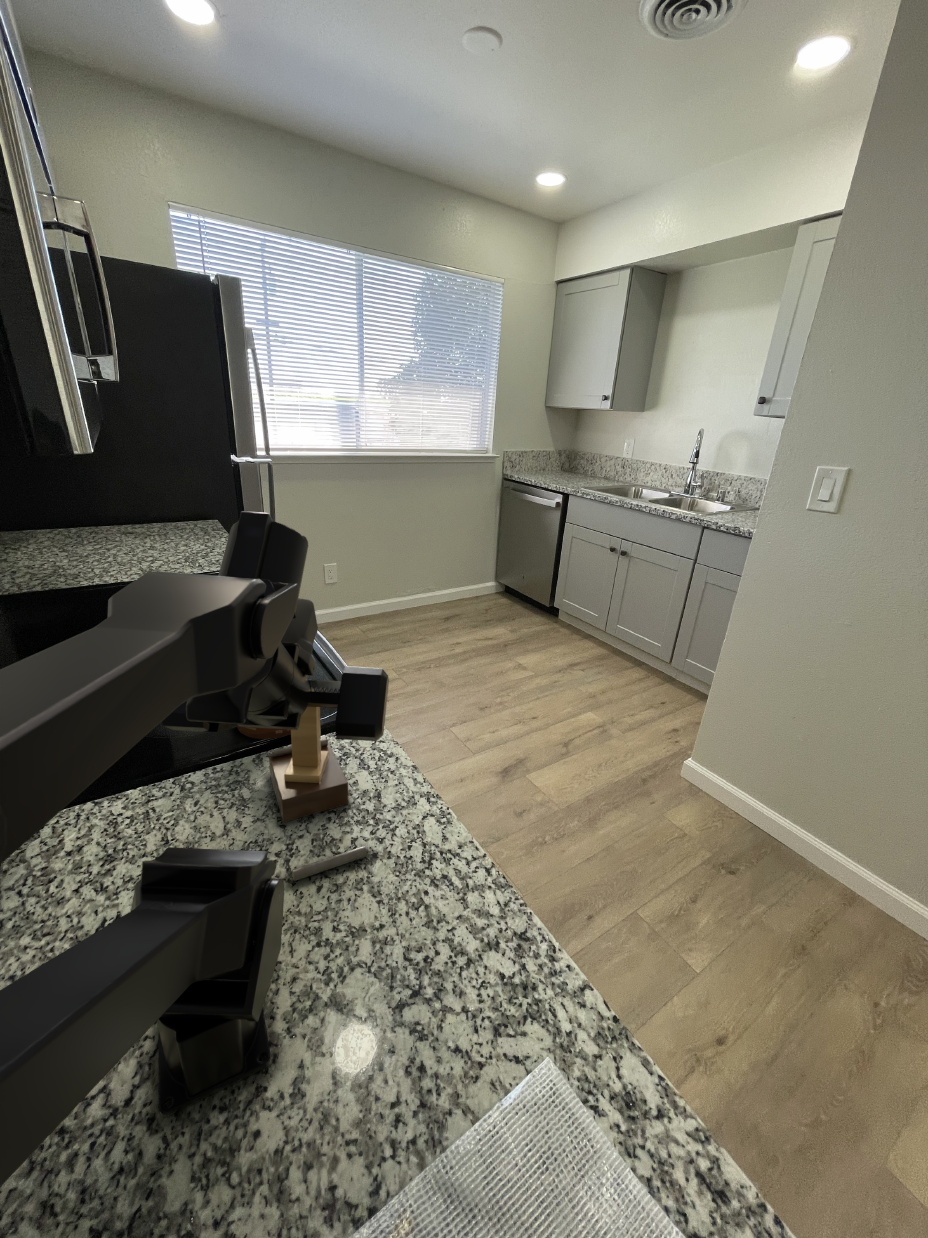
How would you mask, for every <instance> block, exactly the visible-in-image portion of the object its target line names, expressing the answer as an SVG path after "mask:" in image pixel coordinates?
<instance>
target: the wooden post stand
mask: <svg viewBox="0 0 928 1238" xmlns="http://www.w3.org/2000/svg"><path fill="white" fill-rule="evenodd" d="M312 691H313V692H315V691H314V688H313V690H312ZM321 731H322V730H321V707H308V706H307V708H306V710H305V712H304V713H303V714H302V715H301V718H300V724H299V730H293V729H291V734H290V739H291V740H290V741H291V746H292V758H291V760H290V763H289V765H288V767H287V769H286V771H285V774H284V780H285V781H287V782H308V783H320V781H321V778H322V775H323V772H324V769H325V766H326V763H327V761H328V751H321V740H322V737H321V735H322V734H321V733H322V732H321Z"/></svg>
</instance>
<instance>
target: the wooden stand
mask: <svg viewBox="0 0 928 1238" xmlns="http://www.w3.org/2000/svg"><path fill="white" fill-rule="evenodd" d="M321 751H328V761H327V763H326V766H325V769H324V772H323V775H322V778H321V781H320V783H308V782H287V781H285V780H284V774H285V771H286V769H287V767H288V765H289V763H290V760H291V758H292V745H290V746H286V747H281V748H277V749H272V750H271V754H270V755H268V760H269V761H268V763H269V776H270V781H271V783H272V787H273V791H274V795H275V798H276V801H277V805H278V808H279V812H280V816H281V818H282V823H286V822H289V821H293V820H296V819H300V818H304V817H307V816H311V815H313V814H317V813H322V812H324V811H328V810H331V809H336V808H339V807H342V806H345V805H348V804H349V782H348V780H347V778H346V776H345V774H344V771H343V769H342V767H341V765H340V763H339V761H338V758H337V757H336V754H335V752H334V750H333V748H332V746H331V744H330V742H329V741H328V738H323V739H322V738H321ZM367 856H368V853H367V848H366V846H365V845H363V846H360V847H356V848H354V849H350V850H348V851H345V852H342V853H338V854H335V855H332V856H330V857H326V858H323V859H320V860H317V861H314V862H312V863H309V864H306V865H305V864H304V865H302V866H299V867H297V868H293V869H292V870H291V876H292V880H293V882H296V881H299V880H302V879H304V878H308V877H310V876H313V875H316V874H319V873H323V872H326V871H329V870H331V869H334V868H337V867H339V866H343V865H345V864H346V865H347V864H349V863H351V862H354V861H357V860H360V859H363V858H366V857H367Z"/></svg>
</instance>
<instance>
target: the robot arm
mask: <svg viewBox="0 0 928 1238" xmlns="http://www.w3.org/2000/svg"><path fill="white" fill-rule="evenodd" d="M239 514H240V515H239V519H238V521H236V522H235V523H233V524H232V525H231V527H230V530H229V533H228V537H227V541H226V544H225V549H224V552H223V557H222V561H221V563H220V566H219V572H218V575H211V574H210V575H209V574H199V573H197V574H196V573H186V572H185V573H182V572H170V571H169V572H168V571H159V570H158V571H148V572H146V573H144V574H142V575H141V576H139V577H138V578H137V579H135V580H133V581H132V582H130V583H129V584H127V585H126V586H124V587H123V588H121V589H120V590H118V591H116V593H114V594H113V595H111V597H110V598H108V600H107V601H108V602H107V618H105V619H104V620H102V621H101V622H99V623H98V624H97V625H95V626H94V627H92V628H90V629H87V630H85V631H82V632H80V633H79V634H76V635H74V636H72V637H70V638H67V639H65V640H63V641H61V642H59V643H56V644H54V645H52V646H50V647H47V648H45V649H43V650H41V651H39V652H36V653H34V654H32V655H30V656H27V657H25V658H23V659H20V660H18V661H16V662H13V663H12V664H9V665H7V666H5V667H2V668H0V868H1V867H2V865H3V863H4V862H5V861H6V860H7V859H8V858H9V857H11V856H12V855H13V854H14V853H15V852H17V851H18V850H19V849H20V848H21V847H22V846H23V845H24V844H25V843H26V842H28V841H29V840H30V839H31V838H33V836H34V835H36V834H37V833H38V832H39V831H40V830H41V829H43V828H44V826H46V825H47V824H48V823H49V822H50V821H52V820H53V819H54V818H55V817H56V816H57V815H58V814H59V813H60V812H61V811H63V809H65V808H66V807H67V806H68V805H69V804H70V803H72V802H73V801H74V800H75V799H76V798H77V797H78V796H79V795H81V794H82V793H83V792H84V791H85V790H86V789H88V788H89V787H90V786H91V785H92V784H93V783H94V782H95V781H97V779H99V778H100V777H101V776H102V775H103V774H104V773H105V772H107V771H108V770H109V769H110V768H111V767H112V766H114V765H115V763H117V762H118V761H119V760H120V759H122V757H124V755H126V754H127V753H128V752H130V751H131V750H132V748H134V747H135V746H136V745H137V744H138V743H140V741H141V740H142V739H144V738H145V737H146V736H147V735H149V733H151V732H152V731H153V730H154V729H155V728H156V727H158V725H160V724H161V726H162V727H164V728H166V729H169V730H172V731H185V732H202V733H221V732H225V731H227V730H228V731H229V730H230V729H235V728H237V727H238V726H240V727H257V728H275V729H293V730H299V724H300V718H301V715H302V714H303V713H304V712H305V710H306V708H307V706H308V707H320V708H328V709H336V715H335V720H334V721H335V722H334V730H335V731H334V734H335V735H334V736H335V739H336V740H343V741H344V740H347V741H363V742H365V741H366V742H377V741H379V740H380V739H381V738H382V737H384V734H385V724H386V715H387V707H388V705H387V703H388V694H389V687H390V686H389V684H390V678H389V674H388V673H387V672H386V670H384V668H383V667H382V668H381V667H366V666H352V665H349V666H348V665H345V666H344V668H343V670H342V673H341V680H324V679H308V676H314V675H315V668H316V660H315V659H314V657H313V651H314V650H313V649H314V642H315V639H316V635H317V633H318V631H319V626H318V621H317V620H318V619H317V616H316V615H317V614H316V609H315V605H314V604H315V603H314V602H313V601H312V600H311V599H309V598H303V597H300V591H301V586H302V581H303V577H304V576H303V575H304V570H305V565H306V561H307V555H308V549H309V540H308V538H307V537H306V536H305V535H302V534H301V533H300V532H299V531H297V530H296V529H294V528H292V527H290V526H288V525H286V524H283V523H281V522H277V521H274V520H273V518H272V516H271V514H270V513H269V512H260V511H259V512H258V511H247V510H242V511H240V513H239ZM313 688H314V692H313V691H312V690H313ZM326 691H327V692H326ZM268 856H269V851H265V850H264V851H262V850H243V849H242V850H241V849H239V850H238V849H219V848H218V849H217V848H197V847H196V848H195V847H192V848H191V847H174V846H173V847H172V846H167V848H166V849H165V850H164V851H163V852H162V853H161V854H159V856H157V857H156V858H155V859H151V860H150V859H149V860H143V861H141V862H142V863H141V870H140V871H141V873H140V879H139V880H138V881H136V883H135V886H134V891H133V896H132V902H131V907H130V911H129V912H127V913H125V914H123V915H122V916H120V917H119V918H117V919H116V920H113V921H112V922H110V923H109V924H107V925H106V926H103V927H102V928H100V929H99V930H97V931H95V932H93V933H92V934H91V935H89V936H87V937H86V938H84V939H82V940H81V941H79V942H78V943H76V944H74V945H72V946H71V947H69V948H67V949H66V950H64V951H62V952H60V953H59V954H57V955H56V956H54V957H53V958H50V959H49V960H47V961H46V962H44V963H43V964H40V965H39V966H37V967H36V968H34V969H32V970H31V971H29V972H27V973H26V974H24V975H23V976H21V977H19V978H18V979H16V980H14V981H12V982H11V983H9V984H7V985H6V986H5V987H3V988H1V989H0V1188H1V1187H2V1186H3V1185H4V1184H5V1183H6V1182H7V1181H8V1180H9V1179H10V1178H11V1177H12V1176H13V1175H14V1174H15V1172H16V1171H18V1169H19V1168H20V1167H21V1166H22V1165H23V1164H24V1163H25V1162H26V1161H27V1159H29V1158H30V1156H31V1155H32V1154H33V1153H34V1152H35V1151H36V1150H37V1149H38V1148H39V1147H40V1146H41V1145H42V1144H43V1143H44V1142H45V1140H46V1139H47V1138H48V1137H49V1136H50V1135H52V1134H53V1132H54V1131H55V1130H56V1129H57V1128H58V1127H59V1126H60V1125H61V1124H62V1122H63V1121H64V1120H65V1119H66V1118H67V1117H68V1116H69V1115H70V1114H71V1113H72V1112H73V1111H74V1110H75V1109H76V1108H77V1106H78V1105H80V1103H81V1102H82V1101H83V1100H84V1099H85V1098H86V1097H87V1096H88V1095H89V1094H90V1093H91V1091H92V1090H93V1089H95V1087H96V1086H97V1085H98V1084H99V1083H100V1082H101V1081H102V1080H103V1079H104V1078H105V1077H106V1076H107V1074H108V1073H110V1071H111V1070H112V1069H113V1068H114V1067H115V1066H116V1065H117V1064H118V1062H120V1061H121V1059H122V1058H124V1057H125V1055H126V1054H127V1053H128V1052H129V1051H130V1050H131V1049H132V1048H133V1047H134V1046H135V1045H136V1044H137V1043H138V1041H139V1040H140V1039H141V1038H142V1037H143V1036H144V1035H145V1034H146V1033H147V1032H148V1031H149V1030H150V1029H151V1028H152V1027H153V1025H155V1024H157V1027H158V1028H157V1029H158V1112H159V1114H160V1116H161V1117H164V1118H166V1117H170V1116H171V1115H174V1114H176V1113H179V1111H181V1110H184V1109H185V1108H188V1107H191V1105H195V1103H197V1102H200V1101H202V1100H204V1099H205V1098H207V1097H209V1096H212V1095H215V1094H216V1093H217V1092H219V1091H220V1092H221V1091H222V1090H224V1089H225V1088H228V1087H230V1086H232V1085H234V1084H236V1083H238V1082H239V1081H241V1080H243V1079H246V1078H248V1077H250V1076H252V1075H254V1074H256V1073H258V1072H259V1071H260V1072H261V1071H262V1070H264V1069H265V1068H267V1067H268V1066H269V1064H270V1063H271V1050H270V1049H271V1048H270V1043H269V1037H268V1031H267V1024H266V1019H265V1013H264V1004H265V1001H266V998H267V994H268V992H269V988H270V985H271V982H272V979H273V975H274V973H275V969H276V966H277V963H278V959H279V956H280V953H281V949H282V934H283V920H284V918H283V917H284V906H285V905H284V904H285V881H284V879H283V878H273V876H274V875H275V873H276V869H277V864H276V863H275V861H273V859H268ZM262 1057H265V1059H264V1060H262V1061H261V1060H260V1059H261V1058H262ZM169 1102H171V1104H170V1105H169V1106H168V1107H165V1106H166V1105H167V1104H168V1103H169Z"/></svg>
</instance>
